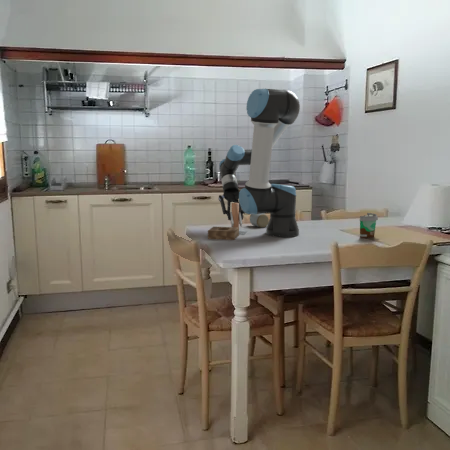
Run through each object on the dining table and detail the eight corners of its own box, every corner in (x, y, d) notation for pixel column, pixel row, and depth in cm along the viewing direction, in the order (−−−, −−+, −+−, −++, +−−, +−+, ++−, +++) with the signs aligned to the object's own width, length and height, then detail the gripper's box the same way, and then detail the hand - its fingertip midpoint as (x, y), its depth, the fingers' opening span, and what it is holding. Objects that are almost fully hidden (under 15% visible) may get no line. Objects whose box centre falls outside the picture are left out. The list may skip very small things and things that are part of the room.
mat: (247, 232, 226) (247, 231, 226) (244, 235, 218) (244, 234, 218) (226, 231, 228) (226, 230, 228) (223, 234, 220) (223, 234, 220)
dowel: (239, 232, 224) (239, 202, 222) (238, 233, 221) (238, 203, 219) (232, 232, 225) (232, 202, 223) (230, 233, 222) (230, 203, 220)
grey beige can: (257, 228, 235) (257, 213, 234) (249, 226, 242) (249, 211, 241) (275, 227, 240) (275, 212, 238) (267, 224, 247) (267, 210, 246)
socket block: (239, 236, 217) (239, 227, 216) (234, 240, 207) (234, 231, 206) (213, 235, 219) (213, 226, 219) (207, 239, 210) (207, 230, 209)
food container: (372, 239, 207) (373, 217, 205) (358, 238, 210) (359, 216, 208) (380, 235, 217) (381, 213, 215) (366, 233, 220) (367, 212, 218)
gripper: (245, 190, 236) (252, 229, 223) (212, 191, 234) (218, 230, 220) (247, 180, 230) (255, 219, 217) (214, 181, 227) (220, 220, 214)
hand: (236, 225), depth 219 cm, fingers closed on dowel, 3 cm apart
